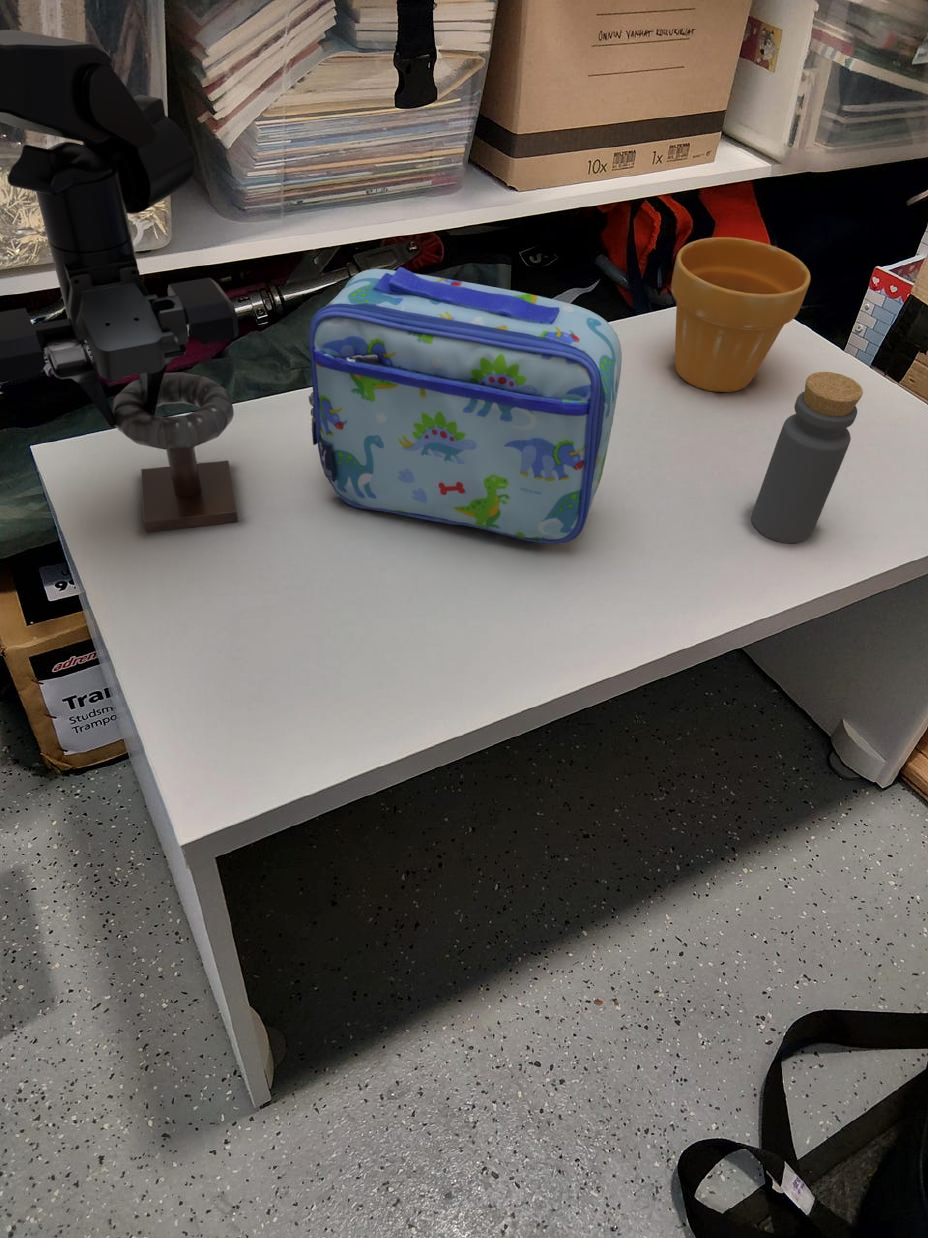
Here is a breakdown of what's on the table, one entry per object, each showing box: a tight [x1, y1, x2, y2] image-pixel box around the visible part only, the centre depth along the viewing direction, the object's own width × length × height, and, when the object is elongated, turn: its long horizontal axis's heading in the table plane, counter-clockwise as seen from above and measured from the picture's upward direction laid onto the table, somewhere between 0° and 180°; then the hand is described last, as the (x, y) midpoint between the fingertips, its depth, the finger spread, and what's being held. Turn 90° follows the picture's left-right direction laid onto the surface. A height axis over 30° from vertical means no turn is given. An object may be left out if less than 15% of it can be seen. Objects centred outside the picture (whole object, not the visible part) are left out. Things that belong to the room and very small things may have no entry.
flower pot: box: [670, 236, 811, 393], centre depth 104 cm, size 14×14×13 cm
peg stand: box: [140, 447, 239, 533], centre depth 84 cm, size 8×8×8 cm
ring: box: [112, 371, 235, 450], centre depth 80 cm, size 10×10×3 cm
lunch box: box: [308, 266, 623, 545], centre depth 81 cm, size 26×11×21 cm, turn 72°
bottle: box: [751, 371, 864, 544], centre depth 84 cm, size 6×6×15 cm
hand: (131, 421), depth 79 cm, fingers closed on ring, 3 cm apart
